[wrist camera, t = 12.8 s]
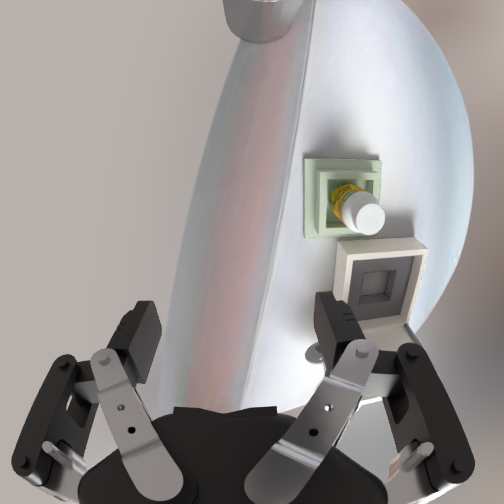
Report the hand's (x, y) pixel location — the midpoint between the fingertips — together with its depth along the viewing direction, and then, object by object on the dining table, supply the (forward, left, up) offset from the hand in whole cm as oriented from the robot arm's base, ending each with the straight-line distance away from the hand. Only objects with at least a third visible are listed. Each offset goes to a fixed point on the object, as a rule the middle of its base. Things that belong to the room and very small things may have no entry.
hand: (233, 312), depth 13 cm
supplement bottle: (+2, +15, -28) cm, 31 cm away
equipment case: (+17, +22, -28) cm, 39 cm away
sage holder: (+2, +15, -28) cm, 32 cm away
